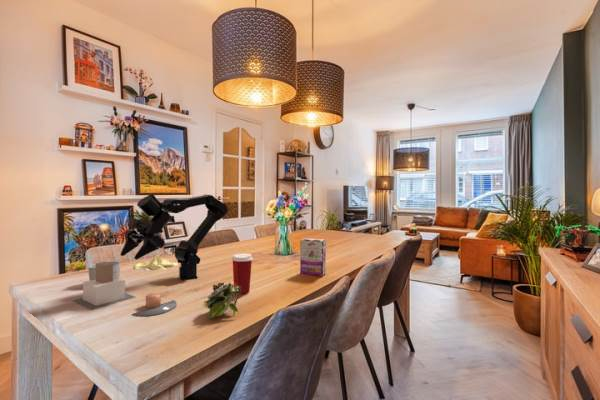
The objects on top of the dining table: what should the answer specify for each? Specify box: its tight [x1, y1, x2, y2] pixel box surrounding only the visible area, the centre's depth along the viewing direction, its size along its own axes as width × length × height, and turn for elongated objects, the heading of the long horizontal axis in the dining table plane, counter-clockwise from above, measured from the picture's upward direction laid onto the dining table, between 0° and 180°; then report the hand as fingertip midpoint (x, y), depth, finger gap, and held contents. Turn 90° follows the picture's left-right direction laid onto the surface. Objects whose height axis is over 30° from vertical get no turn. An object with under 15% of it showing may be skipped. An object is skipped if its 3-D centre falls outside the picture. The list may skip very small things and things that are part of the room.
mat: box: [71, 292, 136, 311], centre depth 103 cm, size 14×14×1 cm
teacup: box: [87, 260, 121, 281], centre depth 122 cm, size 14×11×8 cm
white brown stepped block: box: [82, 261, 126, 306], centre depth 102 cm, size 9×9×12 cm
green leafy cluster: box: [204, 282, 242, 320], centre depth 94 cm, size 11×11×12 cm
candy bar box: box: [299, 237, 327, 277], centre depth 141 cm, size 11×5×16 cm, turn 69°
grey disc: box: [131, 292, 178, 317], centre depth 98 cm, size 14×14×4 cm
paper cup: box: [231, 253, 253, 296], centre depth 113 cm, size 8×8×14 cm
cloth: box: [133, 254, 179, 271], centre depth 149 cm, size 22×19×6 cm
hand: (128, 257), depth 109 cm, fingers open, 9 cm apart
